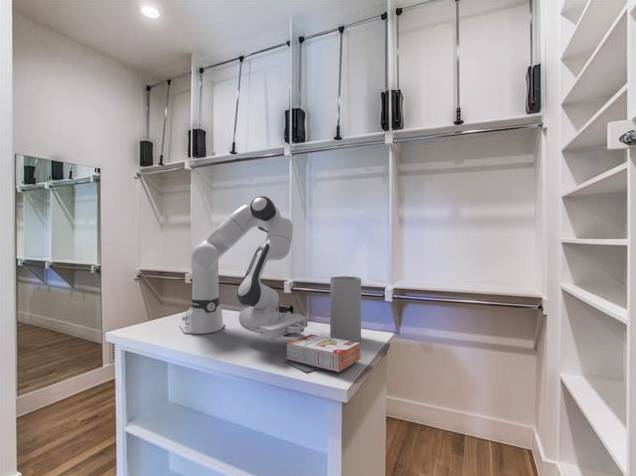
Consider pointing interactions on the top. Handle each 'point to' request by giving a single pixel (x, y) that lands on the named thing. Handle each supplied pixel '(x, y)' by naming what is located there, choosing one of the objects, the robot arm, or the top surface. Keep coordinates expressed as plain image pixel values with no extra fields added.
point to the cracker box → (324, 352)
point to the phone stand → (286, 309)
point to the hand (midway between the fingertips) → (301, 330)
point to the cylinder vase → (345, 308)
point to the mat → (301, 366)
